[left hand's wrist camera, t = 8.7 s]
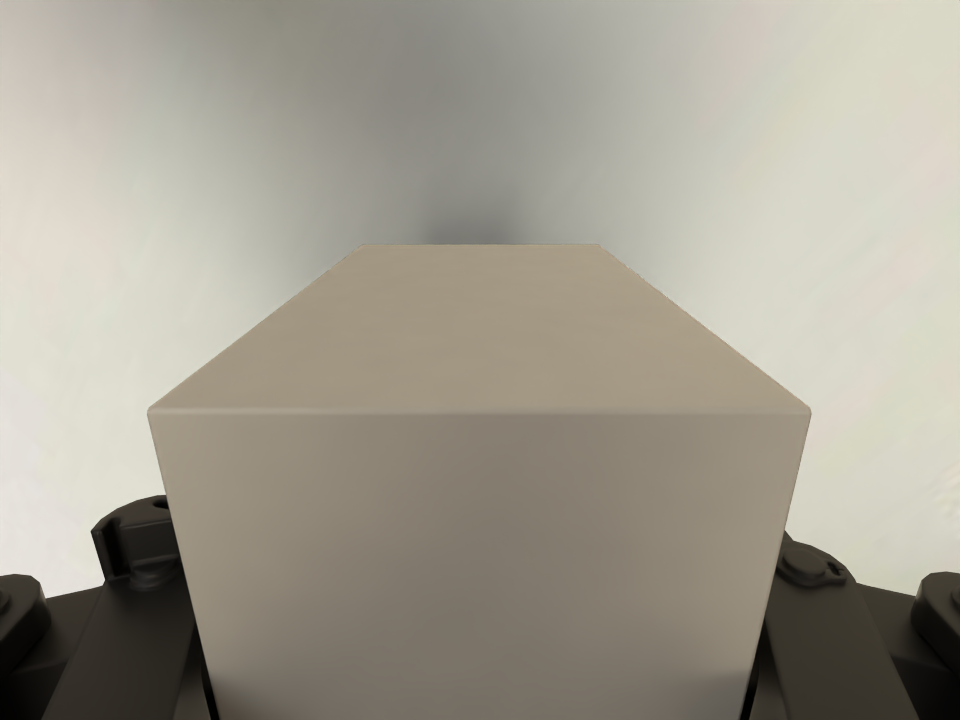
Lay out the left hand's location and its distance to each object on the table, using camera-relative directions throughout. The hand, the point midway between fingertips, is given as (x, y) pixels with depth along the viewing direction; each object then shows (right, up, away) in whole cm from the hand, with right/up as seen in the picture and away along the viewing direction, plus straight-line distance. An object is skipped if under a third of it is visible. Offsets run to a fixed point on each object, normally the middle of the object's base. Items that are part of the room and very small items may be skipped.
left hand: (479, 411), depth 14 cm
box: (0, -8, +4) cm, 9 cm away
